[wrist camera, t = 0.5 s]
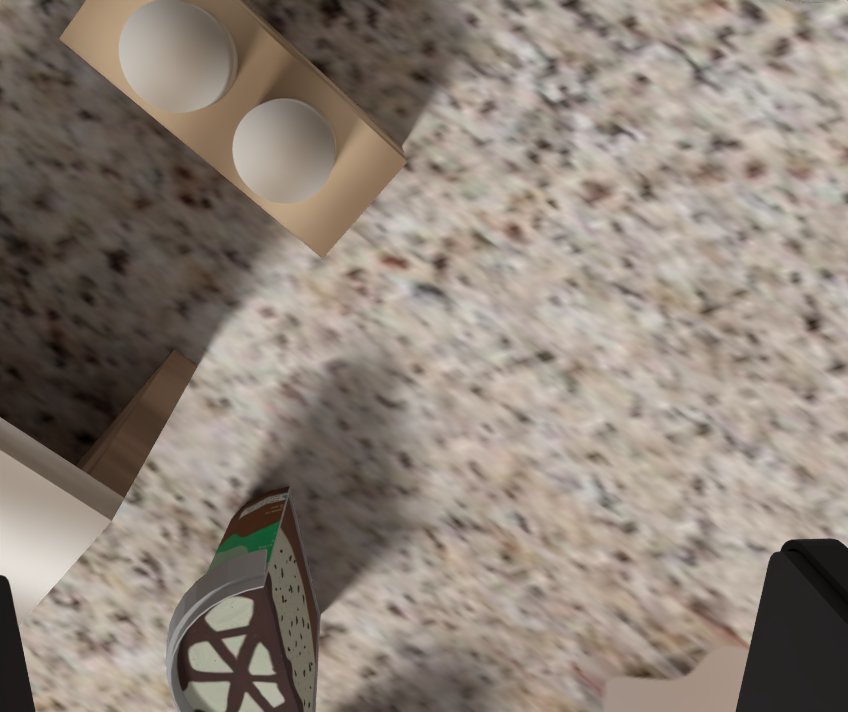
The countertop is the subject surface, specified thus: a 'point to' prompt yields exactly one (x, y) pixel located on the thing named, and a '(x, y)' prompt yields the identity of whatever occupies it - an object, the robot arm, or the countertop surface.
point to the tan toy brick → (244, 106)
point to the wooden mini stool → (74, 487)
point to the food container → (249, 620)
